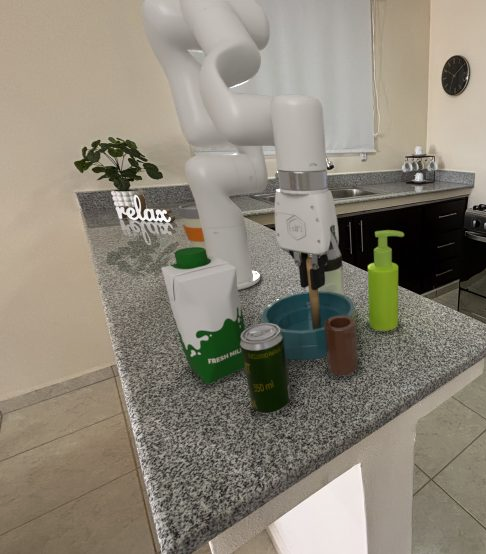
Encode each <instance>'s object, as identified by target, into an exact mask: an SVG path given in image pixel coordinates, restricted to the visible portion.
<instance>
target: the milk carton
mask: <svg viewBox="0 0 486 554" xmlns="http://www.w3.org/2000/svg"><path fill="white" fill-rule="evenodd" d="M174 258H175V261H176V263H172V264H170V265H167V266H162V267H161V268H160V269H161V272H162V276H163V280H164V284H165V288H166V291H167V297H168V300H169V305H170V308H171V311H172V315H173V319H174V322H175V326H176V329H177V333H178V338H179V341H180V344H181V348H182V351H183V354H184V356H185V358H186V360H187V363H188V364H189V367H190V369H191V370H192V371H193V372H194V373H195V374H196V375H197V376H198V377H199V378H200V379H201V380H202V381H203V382H204V383H205V385H210V384H212V383H215V382H217V381H219V380H221V379H223V378H225V377H228V376H229V375H232V374H234V373H237V372H238V371H241V370H243V369H245V368H244V363H243V358H242V353H241V347H240V341H241V333H242V332H243V331H244V330H246V326H245V321H244V315H243V310H242V305H241V299H240V294H239V293H240V292H239V290H238V288H237V276H236V268H235V267H234V266H232V265H230V264H229V263H228V262H226V261H224V260H222V259H220V258H218V257H216V256H211V257H208V256H207V254H206V250H205V248H201V247H193V246H191V247H185V248H181V249H178V250H176V251H174Z"/></svg>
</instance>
